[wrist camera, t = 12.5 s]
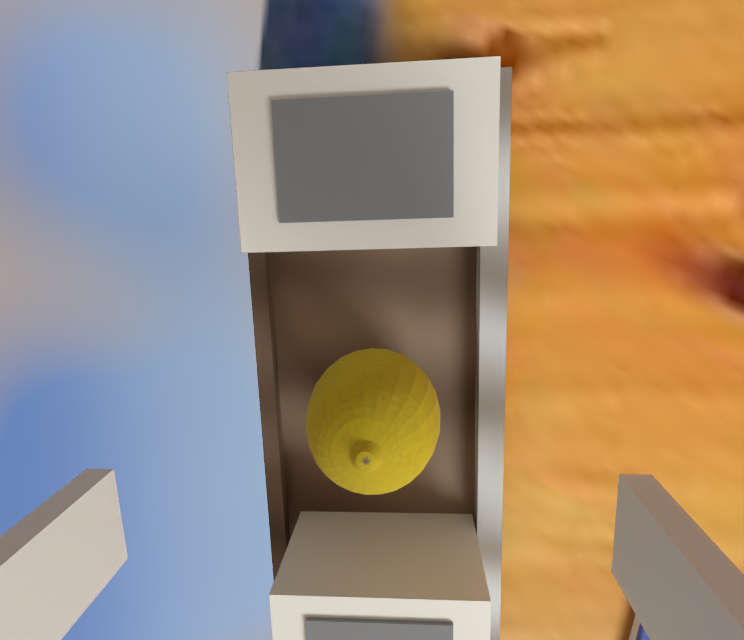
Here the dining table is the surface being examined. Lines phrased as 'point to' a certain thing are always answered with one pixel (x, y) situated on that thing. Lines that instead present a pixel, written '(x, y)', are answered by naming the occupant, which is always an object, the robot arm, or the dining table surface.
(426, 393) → the lemon
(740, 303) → the dining table surface
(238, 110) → the block
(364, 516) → the block
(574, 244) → the dining table surface
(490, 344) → the rail board
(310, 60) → the dining table surface
